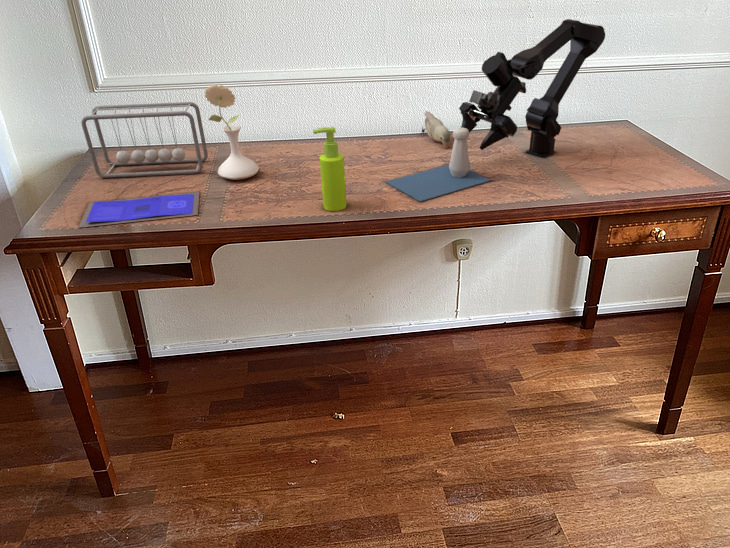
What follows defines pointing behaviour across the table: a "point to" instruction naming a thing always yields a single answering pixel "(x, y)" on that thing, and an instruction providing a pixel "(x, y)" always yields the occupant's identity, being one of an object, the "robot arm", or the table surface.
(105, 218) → the booklet
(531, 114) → the robot arm
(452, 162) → the salt shaker
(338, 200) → the soap dispenser
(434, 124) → the decorative bird
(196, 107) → the newton's cradle
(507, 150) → the table surface
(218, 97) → the flower in vase
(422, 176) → the slate mat
